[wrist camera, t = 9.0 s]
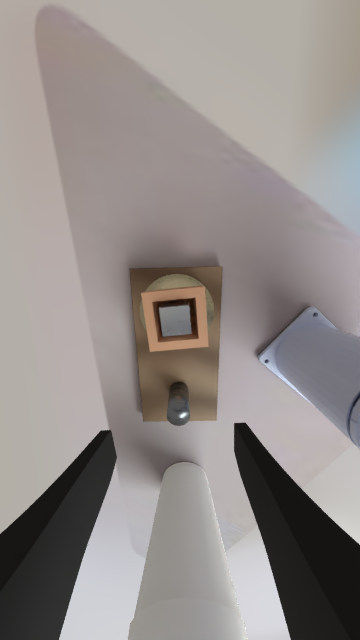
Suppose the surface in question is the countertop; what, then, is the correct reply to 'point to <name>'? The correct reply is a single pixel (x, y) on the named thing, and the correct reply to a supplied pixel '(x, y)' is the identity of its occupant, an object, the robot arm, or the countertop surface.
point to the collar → (154, 326)
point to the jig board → (178, 352)
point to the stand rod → (178, 404)
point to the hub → (178, 306)
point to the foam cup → (186, 567)
